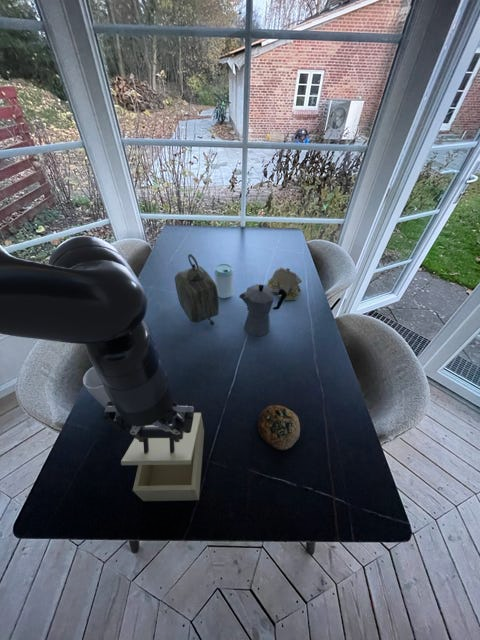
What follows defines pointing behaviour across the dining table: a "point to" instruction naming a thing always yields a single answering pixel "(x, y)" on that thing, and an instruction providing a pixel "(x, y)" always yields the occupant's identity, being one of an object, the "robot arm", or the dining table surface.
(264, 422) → the bread roll
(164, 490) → the beige open box
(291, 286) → the ceramic model
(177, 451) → the lid
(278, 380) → the dining table surface
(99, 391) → the drinking glass
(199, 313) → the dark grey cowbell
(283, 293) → the coffeepot
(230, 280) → the can
